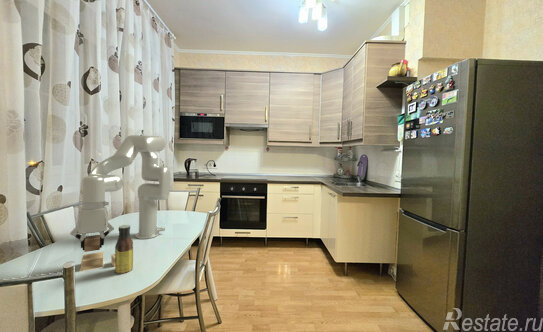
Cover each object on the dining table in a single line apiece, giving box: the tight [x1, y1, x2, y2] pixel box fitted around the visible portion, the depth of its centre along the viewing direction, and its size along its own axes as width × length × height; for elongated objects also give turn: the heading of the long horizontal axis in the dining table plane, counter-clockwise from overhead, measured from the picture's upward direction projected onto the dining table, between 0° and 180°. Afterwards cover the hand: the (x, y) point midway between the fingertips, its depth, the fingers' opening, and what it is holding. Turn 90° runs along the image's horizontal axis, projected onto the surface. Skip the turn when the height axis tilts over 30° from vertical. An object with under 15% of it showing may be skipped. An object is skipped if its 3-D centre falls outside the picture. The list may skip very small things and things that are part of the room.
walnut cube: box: [83, 234, 101, 253], centre depth 98 cm, size 5×5×5 cm
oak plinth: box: [80, 251, 104, 272], centre depth 98 cm, size 7×7×4 cm
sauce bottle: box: [114, 224, 134, 275], centre depth 95 cm, size 6×6×20 cm
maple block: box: [110, 253, 115, 268], centre depth 101 cm, size 4×4×4 cm
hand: (92, 247), depth 98 cm, fingers closed on walnut cube, 5 cm apart
